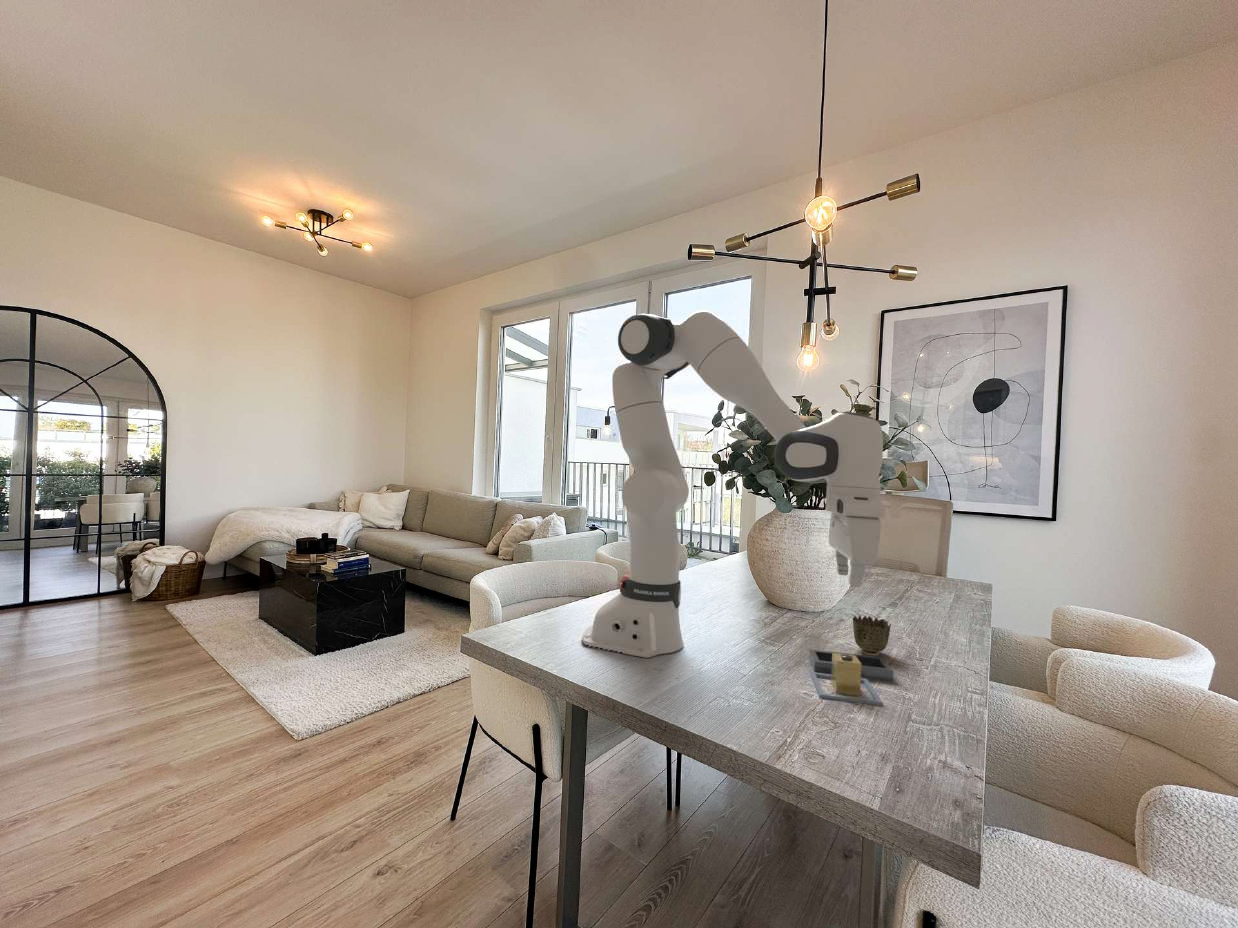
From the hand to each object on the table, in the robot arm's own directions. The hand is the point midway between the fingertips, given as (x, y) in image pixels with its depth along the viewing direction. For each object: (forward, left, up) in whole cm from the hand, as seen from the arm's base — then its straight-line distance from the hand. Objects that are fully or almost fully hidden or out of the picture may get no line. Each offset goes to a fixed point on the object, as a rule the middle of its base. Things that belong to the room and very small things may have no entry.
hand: (848, 580), depth 91 cm
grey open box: (+3, +10, -21) cm, 23 cm away
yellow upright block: (0, 0, -20) cm, 20 cm away
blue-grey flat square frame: (0, 0, -21) cm, 21 cm away
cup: (+10, +22, -21) cm, 32 cm away
